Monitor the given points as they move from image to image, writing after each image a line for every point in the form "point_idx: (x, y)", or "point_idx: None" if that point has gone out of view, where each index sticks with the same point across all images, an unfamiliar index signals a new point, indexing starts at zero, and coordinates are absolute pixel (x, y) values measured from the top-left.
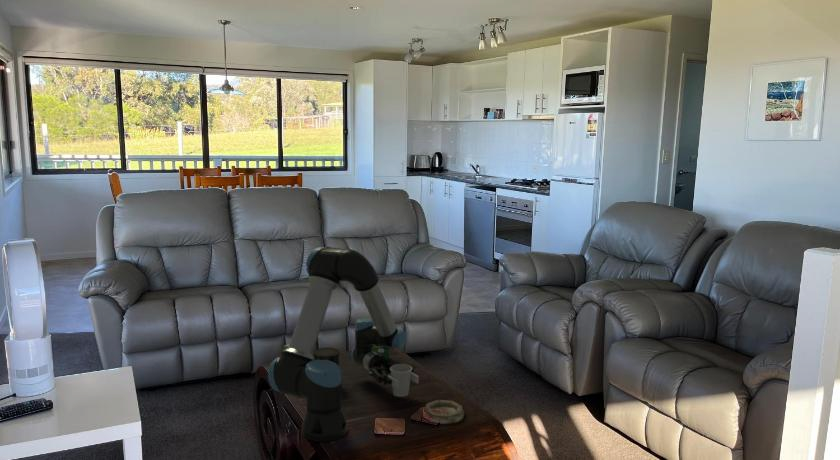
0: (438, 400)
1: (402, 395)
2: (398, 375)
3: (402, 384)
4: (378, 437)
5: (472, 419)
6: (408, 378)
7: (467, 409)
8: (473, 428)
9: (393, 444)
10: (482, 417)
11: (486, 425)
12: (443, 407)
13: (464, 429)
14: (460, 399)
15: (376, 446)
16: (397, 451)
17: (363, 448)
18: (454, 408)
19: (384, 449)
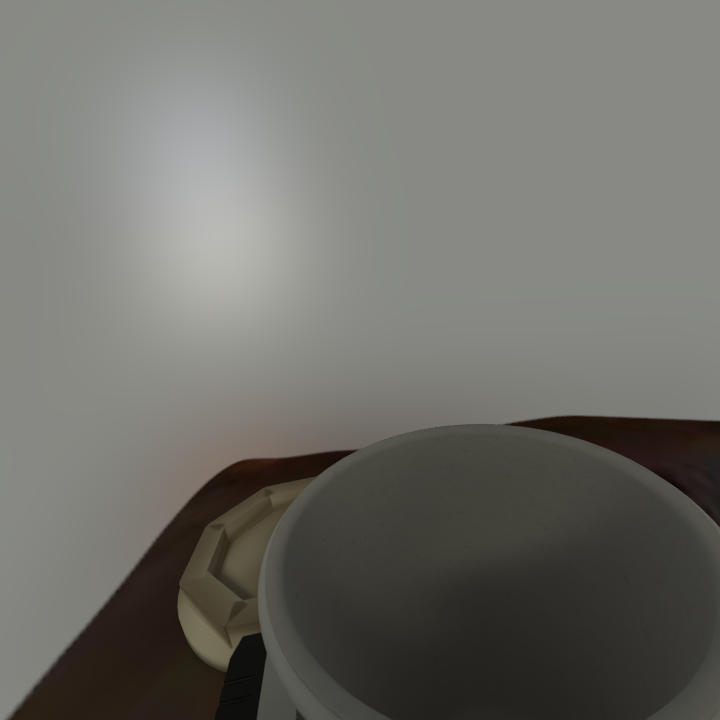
0: (235, 617)
1: (496, 700)
2: (532, 479)
3: (487, 577)
4: (652, 469)
5: (237, 504)
6: (403, 535)
7: (165, 574)
8: (287, 466)
9: (576, 437)
10: (197, 508)
11: (241, 471)
12: (254, 590)
13: (314, 465)
14: (32, 715)
15: (644, 434)
16: (560, 416)
17: (699, 431)
18: (221, 564)
19: (608, 424)
